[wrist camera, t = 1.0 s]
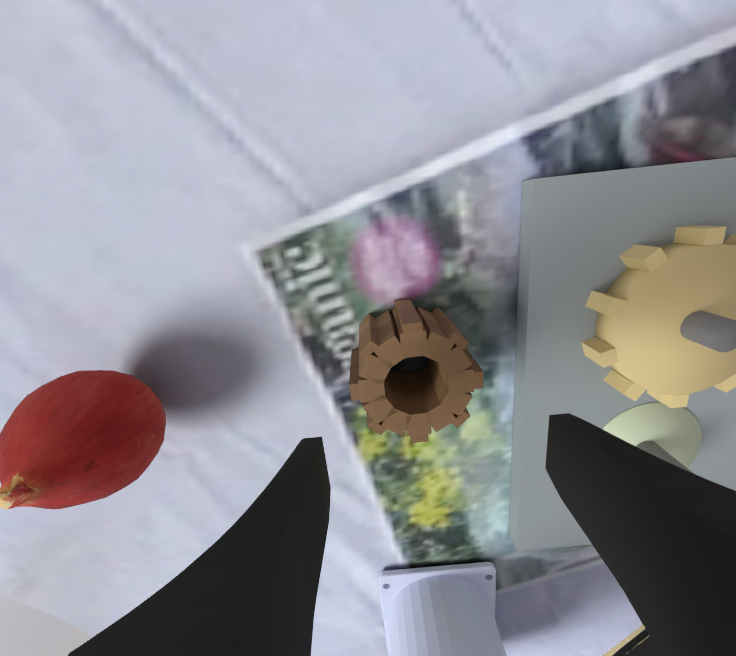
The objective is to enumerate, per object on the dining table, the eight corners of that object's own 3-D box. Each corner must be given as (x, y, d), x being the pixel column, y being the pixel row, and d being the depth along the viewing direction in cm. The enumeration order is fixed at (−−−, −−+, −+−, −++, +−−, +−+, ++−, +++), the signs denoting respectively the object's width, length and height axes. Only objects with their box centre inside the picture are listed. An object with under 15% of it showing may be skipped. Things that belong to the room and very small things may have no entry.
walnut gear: (459, 393, 20) (482, 436, 16) (358, 402, 20) (357, 447, 16) (457, 293, 18) (483, 316, 14) (346, 305, 18) (341, 330, 14)
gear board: (720, 516, 23) (794, 579, 19) (508, 534, 23) (538, 601, 19) (827, 148, 16) (980, 127, 12) (522, 180, 16) (574, 171, 12)
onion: (184, 447, 21) (82, 584, 13) (83, 422, 20) (-84, 551, 13) (200, 362, 19) (93, 463, 11) (90, 332, 18) (-99, 418, 11)
